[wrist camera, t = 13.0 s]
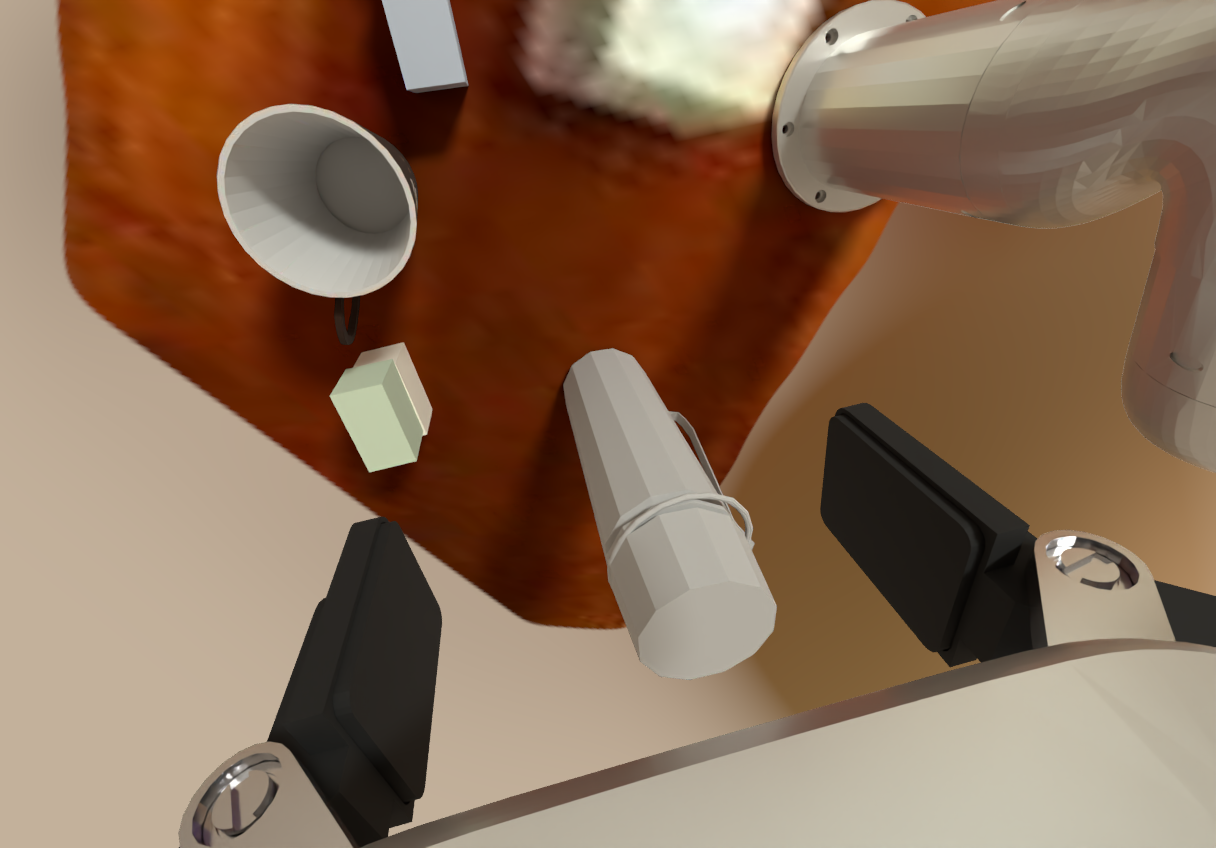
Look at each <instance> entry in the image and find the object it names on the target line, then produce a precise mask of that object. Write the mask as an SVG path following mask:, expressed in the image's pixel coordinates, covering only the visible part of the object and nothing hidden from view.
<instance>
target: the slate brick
mask: <svg viewBox="0 0 1216 848" xmlns="http://www.w3.org/2000/svg"><path fill="white" fill-rule="evenodd" d="M382 3H383V7H384V10H385V14H386V17H387V21H388V25H389V28H390V32H391V35H392V39H393V43H394V46H395V50H396V53H397V57H398V61H399V64H400V68H401V72H402V75H403V79H404V82H405V86H406V90H409V91H411V92H414V93H420V92H428V91H435V90H442V89H450V88H457V87H464V86H468V81H467V77H466V72H465V68H464V63H463V59H462V54H461V50H460V45H459V41H458V36H457V32H456V27H455V23H454V18H453V14H452V9H451V5H450V0H382Z"/></svg>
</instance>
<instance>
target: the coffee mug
mask: <svg viewBox="0 0 1216 848" xmlns="http://www.w3.org/2000/svg"><path fill="white" fill-rule="evenodd" d="M217 186H218V196H219V200H220V203H221V207H222V210H223V214H224V216H225V218H226V220H227V222H228V224H229V226H230V228H231V230H232V232H233V234H234V236H235V237H236V238H237V240H238V241H239V243H240V244H241V245H242V247H243V248H244V250H245V251H246V252H247V253H248V254H249V255H250V256H251V257H252V258H253V259H254V260H255V261H256V262H257V263H258V264H259V265H260V266H261V267H262V268H264V269H265V270H266V271H268V272H269V273H270V274H272V275H273V276H274V277H276V278H277V279H279V280H281V281H283V282H285V283H286V284H288V285H290V286H292V287H294V288H297V289H299V290H302V291H305V292H308V293H310V294H314V295H320V296H325V297H335V310H334V318H335V325H336V331H337V335H338V338H339V341H340V343H341V344H344V345H350V344H352V343H353V341H354V338H355V335H356V329H357V323H358V316H359V307H360V295H365V294H367V293H370V292H373V291H375V290H378V289H380V288H381V287H383V286H384V285H386V284H387V283H389V282H390V281H392V280H393V279H394V278H395V276H396V275H397V274H398V273H399V272H400V271H401V270H402V269H403V267H404V266H405V264H406V262H407V260H408V259H409V257H410V255H411V252H412V249H413V245H414V242H415V237H416V226H417V206H418V190H417V183H416V180H415V176H414V173H413V171H412V169H411V167H410V165H409V163H408V162H407V160H406V159H405V157H404V156H403V155H402V154H401V153H400V152H399V150H398V149H397V148H396V147H395V146H393V145H392V144H391V143H389V142H388V141H387V140H385V139H384V138H382V137H380V136H378V135H377V134H375V133H373V132H371V131H369V130H368V129H366V128H364V127H362V126H361V125H359V124H357V123H355V122H353V121H351V120H349V119H347V118H345V117H343V116H341V115H339V114H337V113H335V112H333V111H329V110H326V109H322V108H319V107H315V106H311V105H299V104H286V105H278V106H271V107H268V108H266V109H263V110H261V111H258V112H256V113H253V114H252V115H250V116H249V117H248V118H246V119H245V120H244V121H242V122H241V123H239V124H238V125H237V126H236V128H235V129H234V130H233V132H232V133H231V134H230V135H229V137H228V138H227V139H226V142H225V144H224V147H223V149H222V151H221V154H220V156H219V163H218V170H217ZM349 297H352V309H351V315H350V319H349V325H348V330H346V327H345V318H344V298H349Z"/></svg>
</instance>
